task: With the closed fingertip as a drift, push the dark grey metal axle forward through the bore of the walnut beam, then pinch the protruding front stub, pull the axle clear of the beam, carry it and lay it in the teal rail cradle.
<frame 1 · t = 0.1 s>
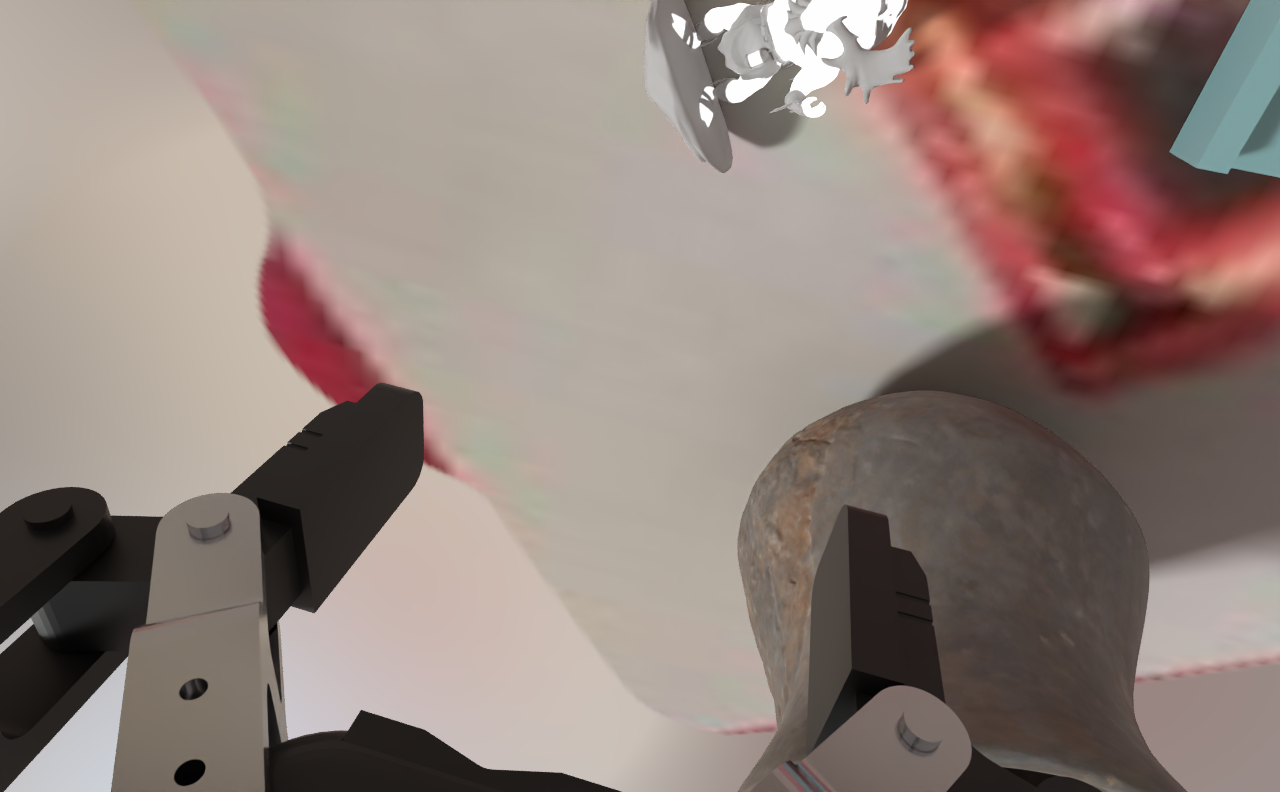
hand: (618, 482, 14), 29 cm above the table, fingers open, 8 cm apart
vase: (908, 463, 46), on the table
figurine: (776, 38, 36), on the table
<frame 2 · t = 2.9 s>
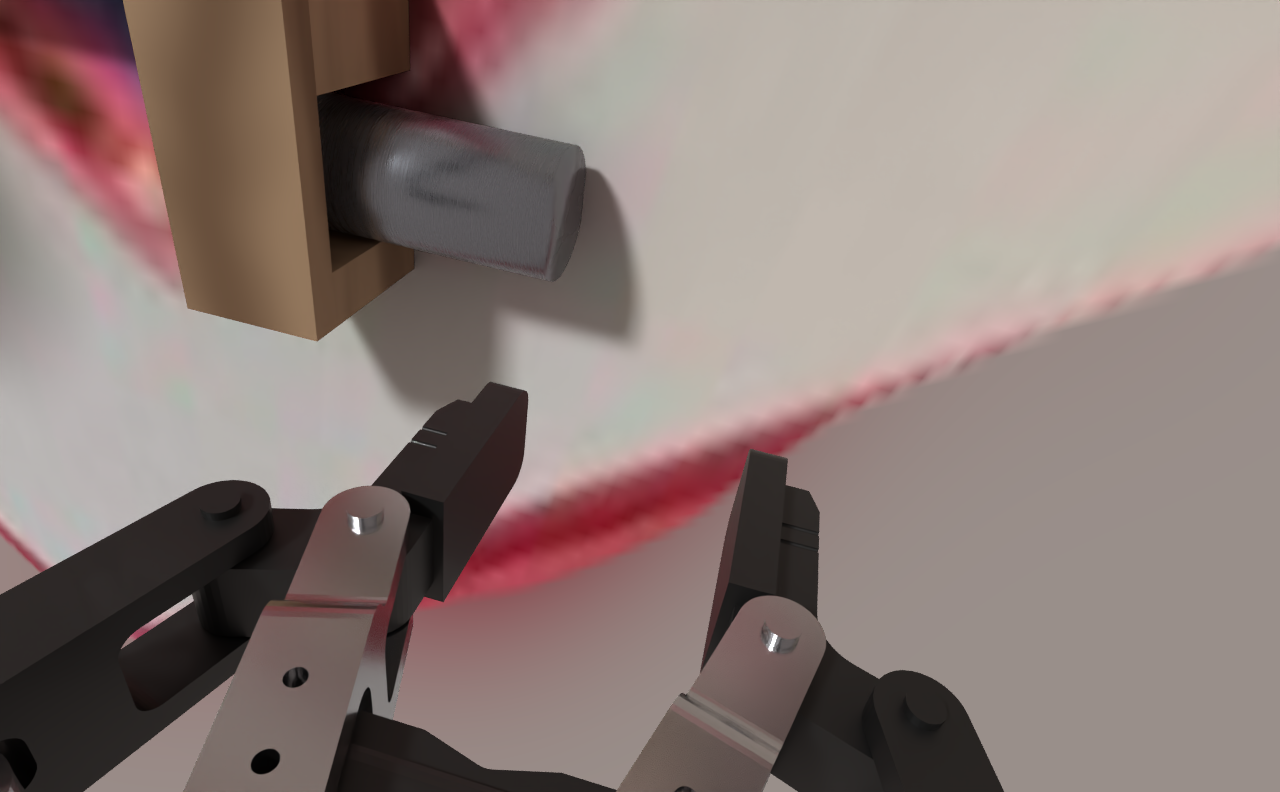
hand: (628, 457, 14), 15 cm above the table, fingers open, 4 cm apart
axle: (414, 148, 29), on the table, tilted 10°
beam: (350, 110, 28), on the table
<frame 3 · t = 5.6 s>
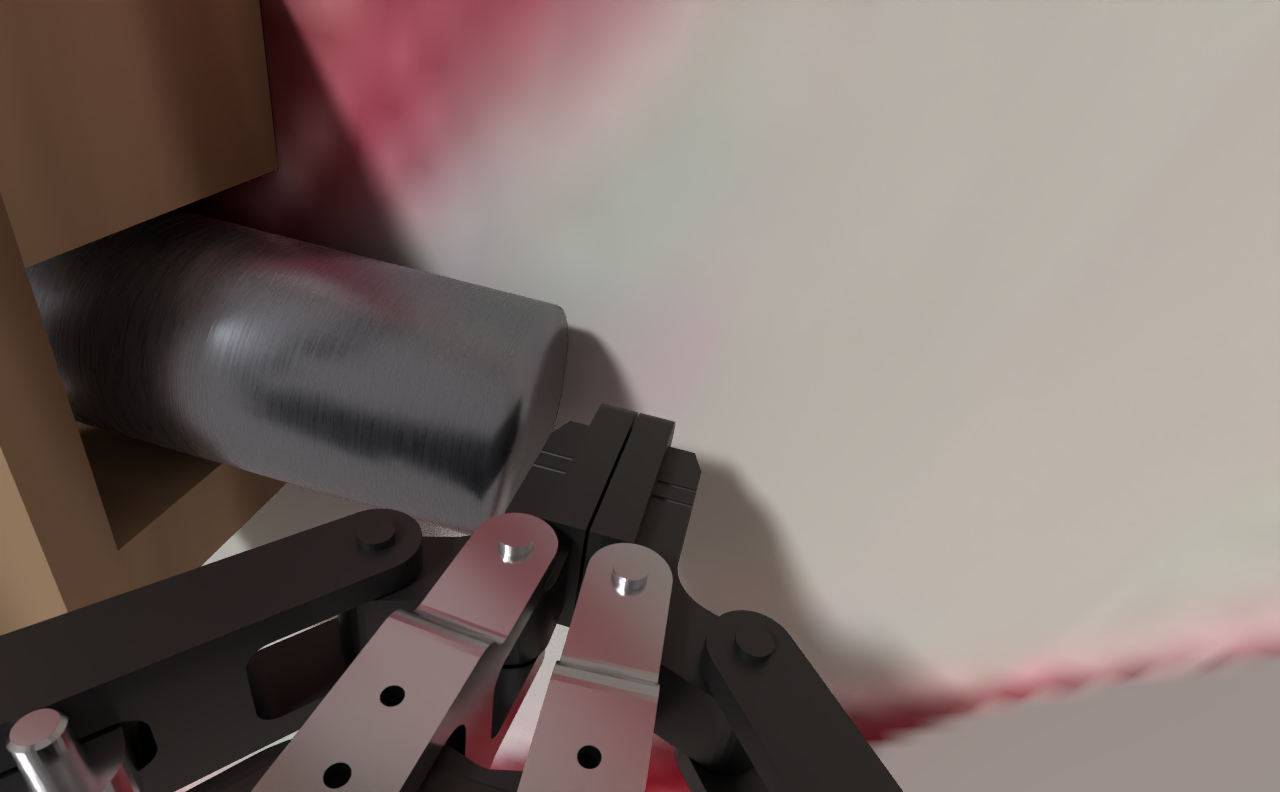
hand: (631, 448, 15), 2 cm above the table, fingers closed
axle: (282, 288, 17), on the table, touching gripper
beam: (188, 227, 17), on the table
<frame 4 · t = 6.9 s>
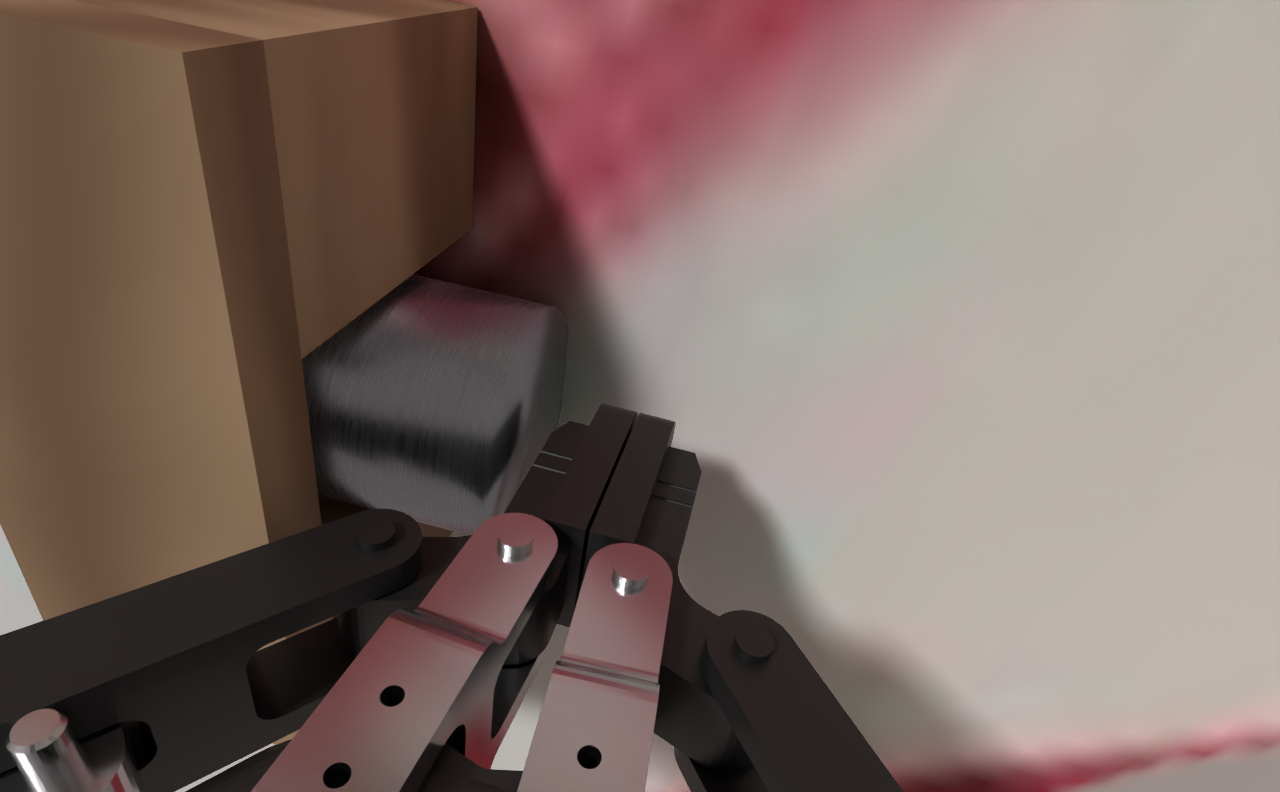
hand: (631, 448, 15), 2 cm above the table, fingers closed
axle: (286, 295, 17), on the table
beam: (365, 285, 16), on the table
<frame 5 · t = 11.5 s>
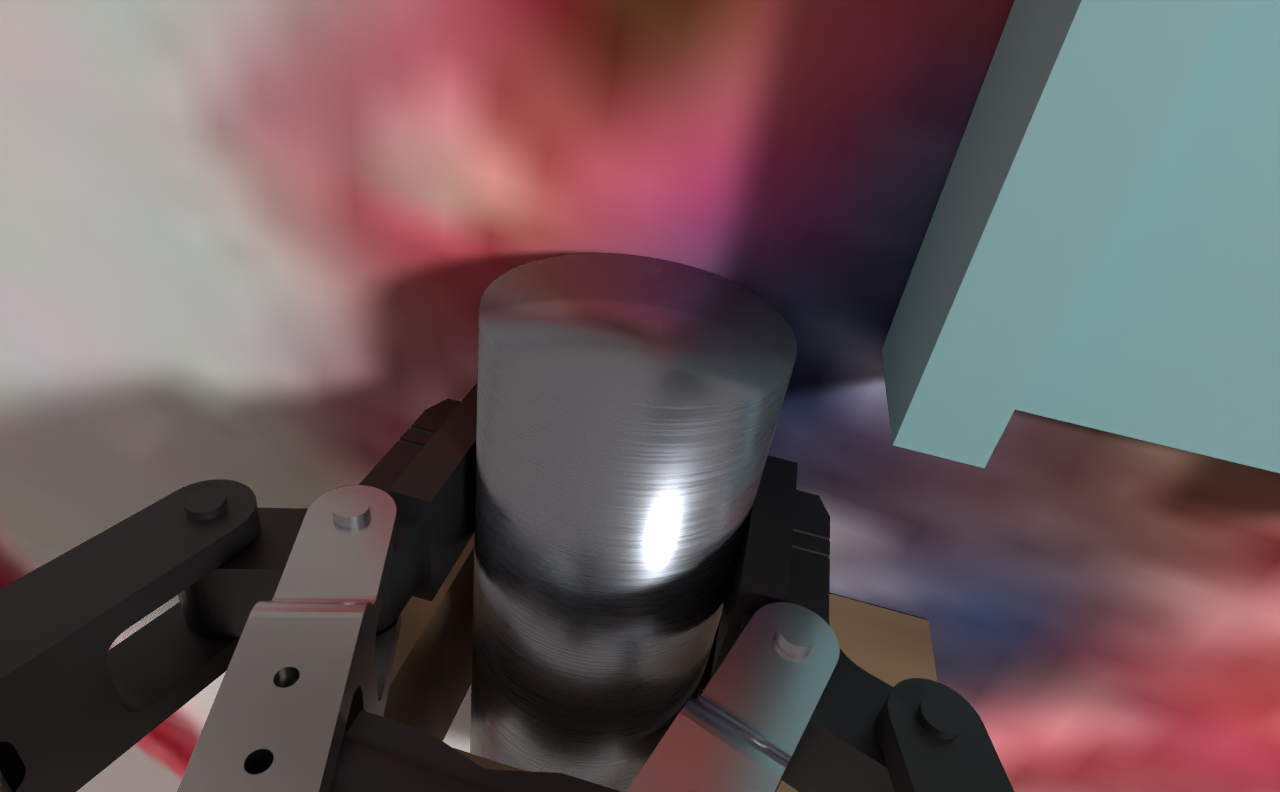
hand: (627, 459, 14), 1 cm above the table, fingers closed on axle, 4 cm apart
axle: (618, 542, 17), on the table, touching gripper
beam: (645, 620, 18), on the table
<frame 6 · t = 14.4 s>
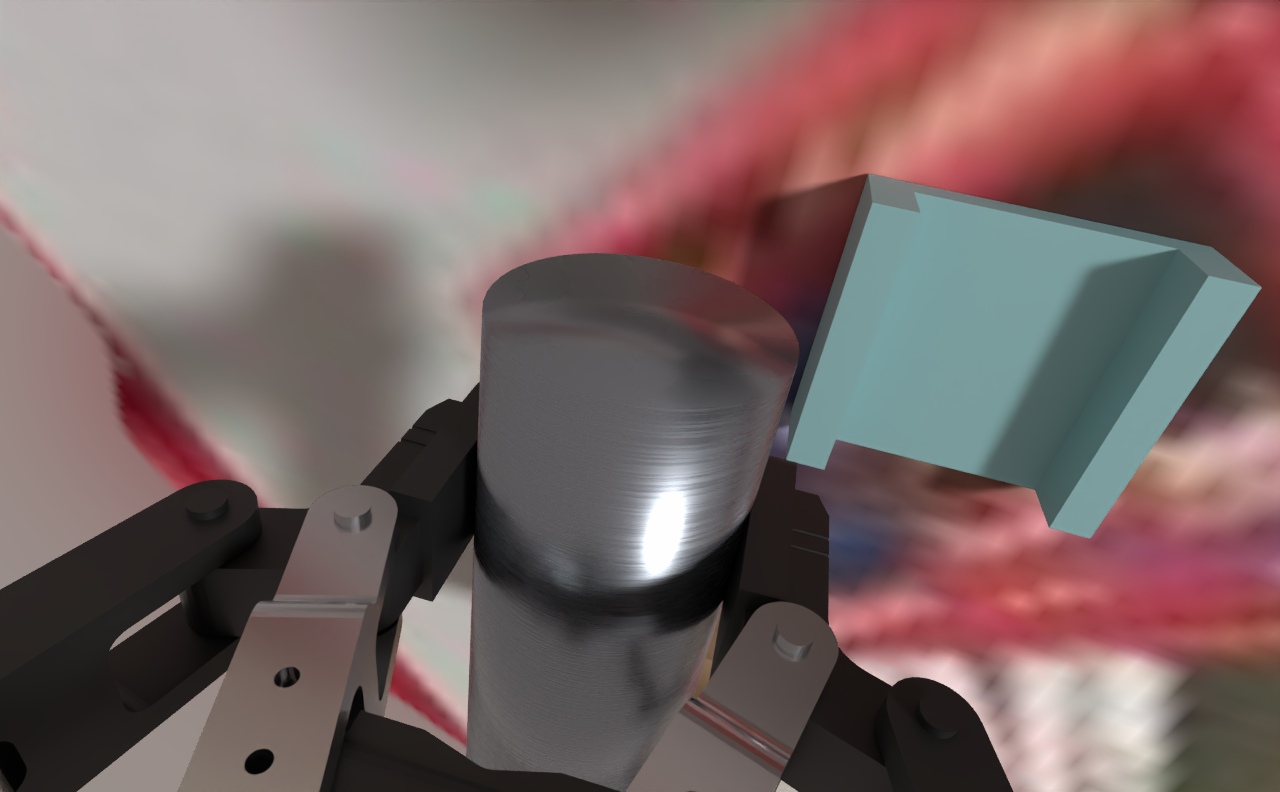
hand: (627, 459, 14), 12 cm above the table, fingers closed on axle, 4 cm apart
axle: (617, 541, 17), point 11 cm above the table, touching gripper
cradle: (975, 340, 24), on the table
beam: (672, 551, 32), on the table
when the fingers open (3 cm above the table, at t = 17.5 s): axle stays where it is, resting on cradle.
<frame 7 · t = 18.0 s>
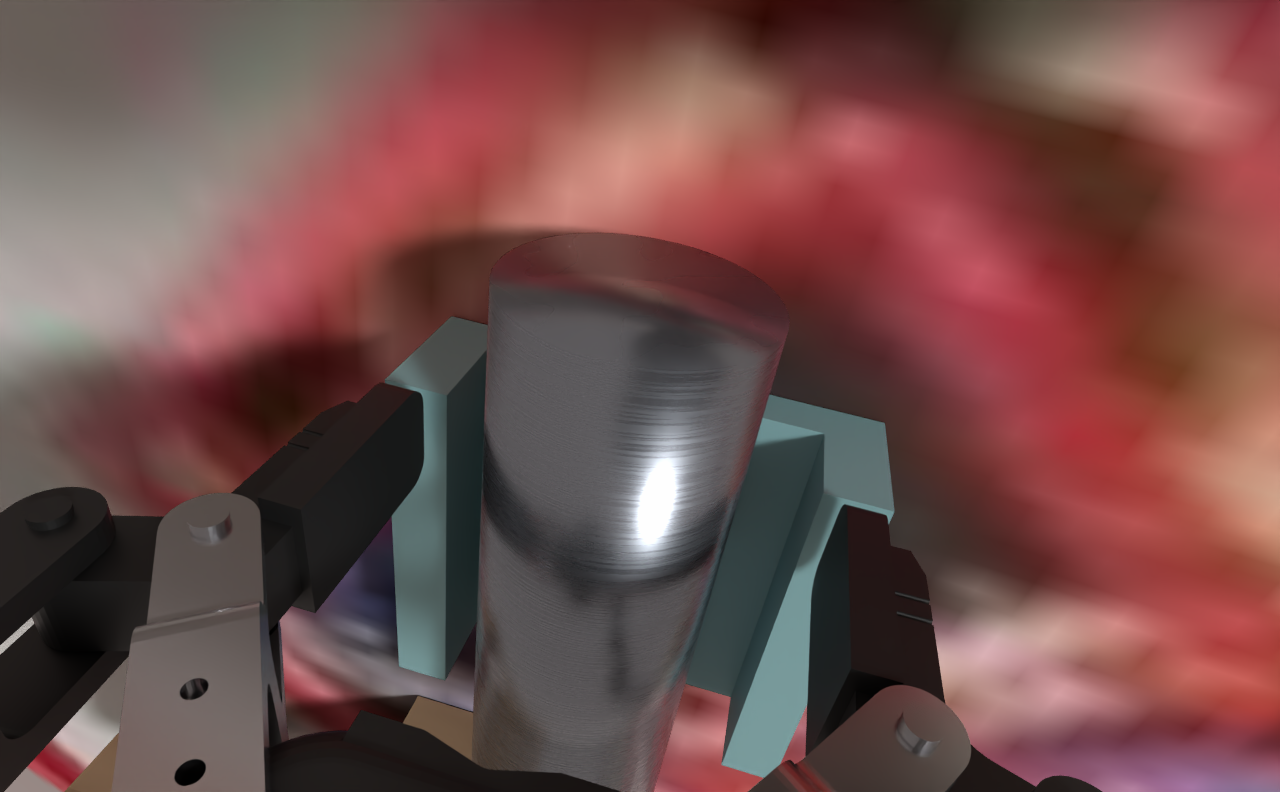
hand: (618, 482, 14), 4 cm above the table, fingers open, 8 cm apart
axle: (627, 518, 17), point 1 cm above the table, touching cradle
cradle: (632, 516, 19), on the table
beam: (370, 722, 27), on the table
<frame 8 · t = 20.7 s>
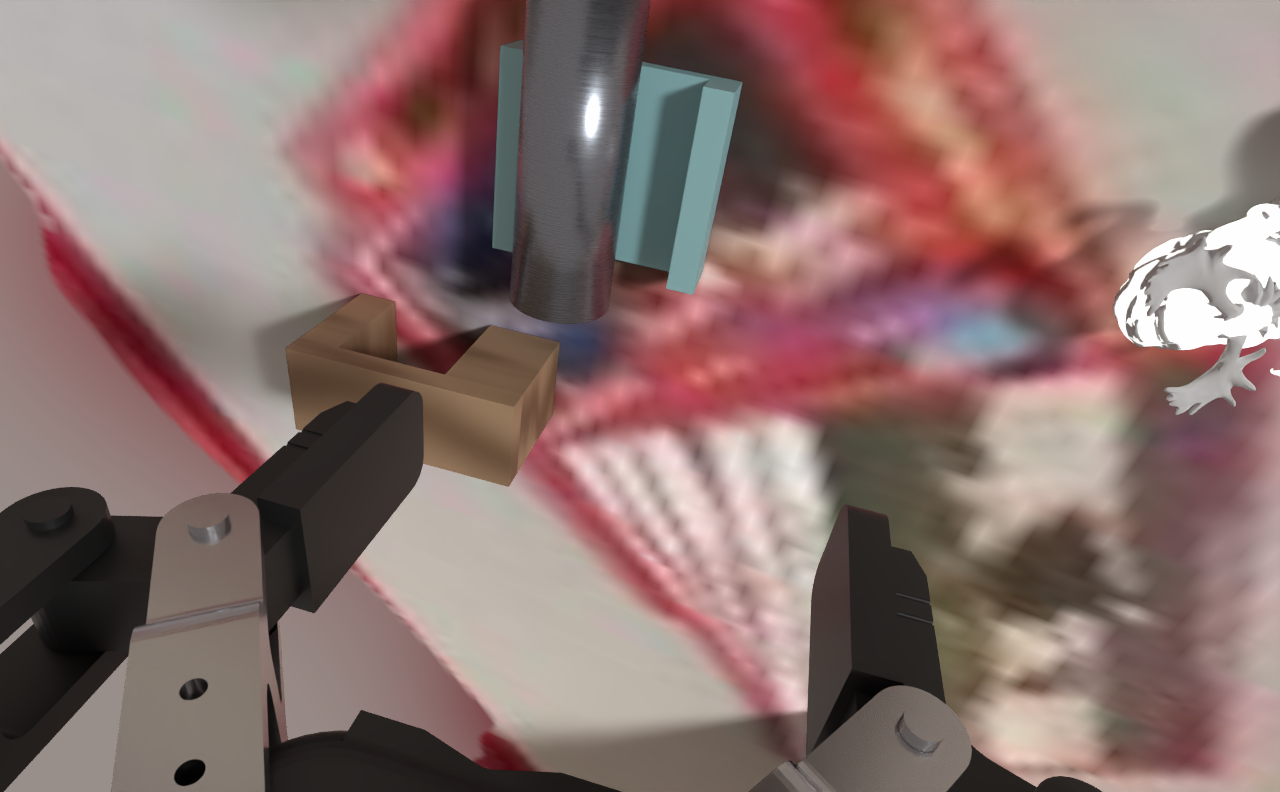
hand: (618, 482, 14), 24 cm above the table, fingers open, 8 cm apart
axle: (612, 150, 33), point 1 cm above the table, tilted 31°, touching cradle
figurine: (1252, 235, 31), on the table
cradle: (618, 161, 35), on the table
beam: (458, 355, 43), on the table
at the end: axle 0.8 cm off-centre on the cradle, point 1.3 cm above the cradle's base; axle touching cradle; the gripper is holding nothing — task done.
